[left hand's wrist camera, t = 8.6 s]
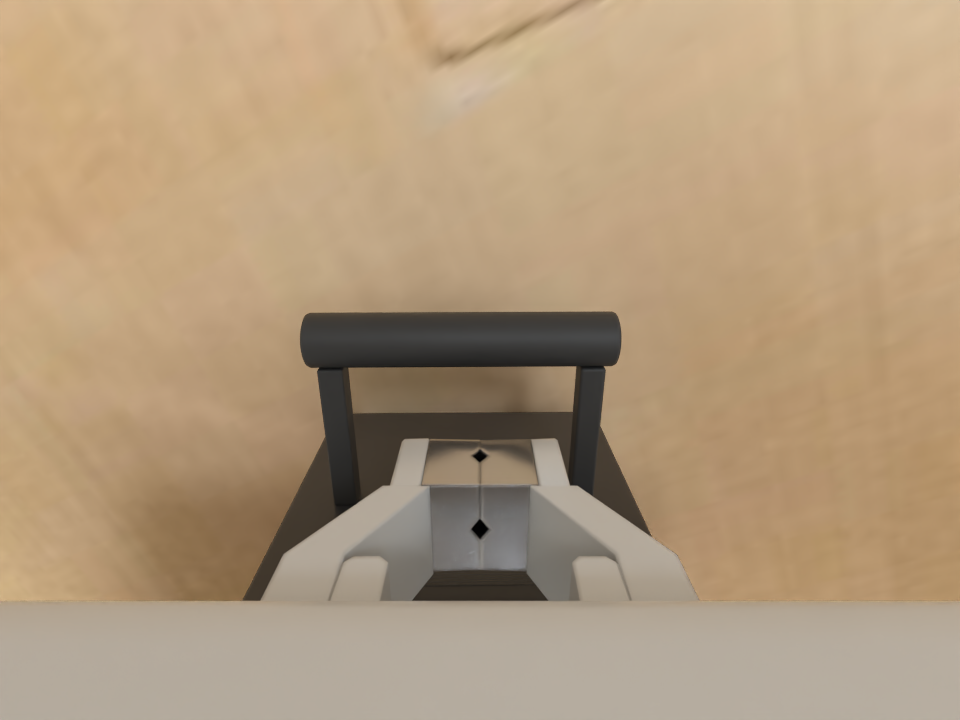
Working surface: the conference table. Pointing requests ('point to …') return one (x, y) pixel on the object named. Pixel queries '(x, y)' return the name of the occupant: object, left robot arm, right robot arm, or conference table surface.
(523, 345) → the drawer
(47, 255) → the conference table surface
